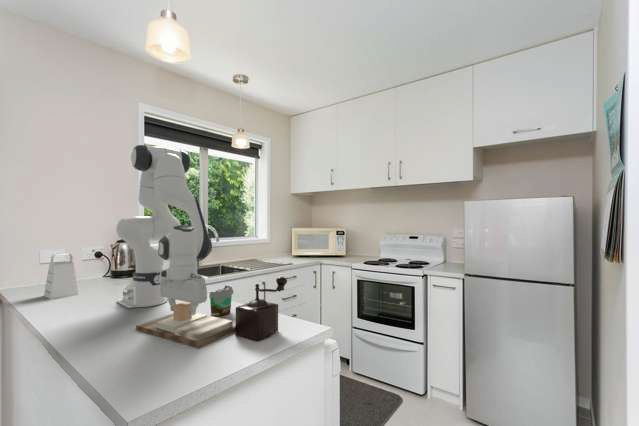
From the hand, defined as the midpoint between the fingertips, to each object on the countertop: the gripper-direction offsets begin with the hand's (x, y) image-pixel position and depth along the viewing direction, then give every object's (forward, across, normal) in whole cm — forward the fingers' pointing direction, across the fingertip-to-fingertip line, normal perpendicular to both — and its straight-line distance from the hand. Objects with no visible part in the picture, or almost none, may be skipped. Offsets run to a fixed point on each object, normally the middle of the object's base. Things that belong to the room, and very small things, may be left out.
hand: (182, 312), depth 104 cm
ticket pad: (+6, -2, 0) cm, 6 cm away
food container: (+6, 0, -19) cm, 20 cm away
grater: (+6, +91, -1) cm, 91 cm away
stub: (+4, 0, 0) cm, 4 cm away
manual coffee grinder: (+6, -25, -12) cm, 29 cm away
